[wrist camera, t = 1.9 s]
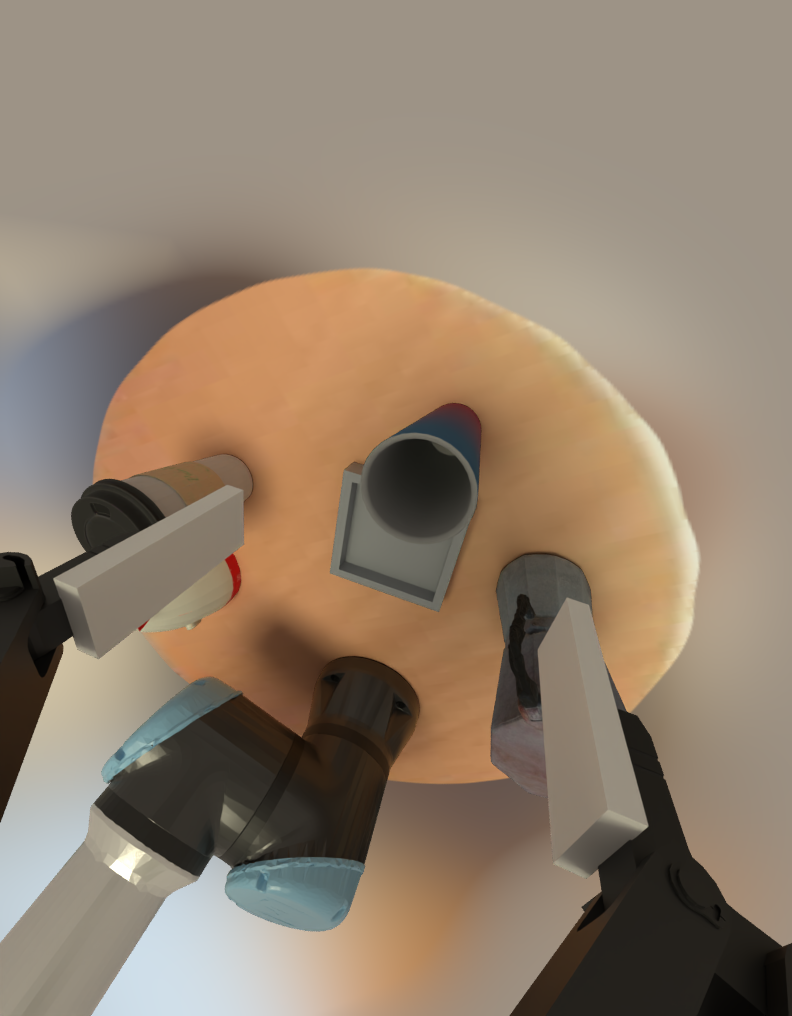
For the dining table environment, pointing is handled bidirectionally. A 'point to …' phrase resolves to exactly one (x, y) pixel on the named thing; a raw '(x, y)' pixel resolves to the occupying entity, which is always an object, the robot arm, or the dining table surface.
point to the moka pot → (529, 661)
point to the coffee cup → (152, 497)
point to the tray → (388, 552)
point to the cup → (426, 477)
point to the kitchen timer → (198, 599)
